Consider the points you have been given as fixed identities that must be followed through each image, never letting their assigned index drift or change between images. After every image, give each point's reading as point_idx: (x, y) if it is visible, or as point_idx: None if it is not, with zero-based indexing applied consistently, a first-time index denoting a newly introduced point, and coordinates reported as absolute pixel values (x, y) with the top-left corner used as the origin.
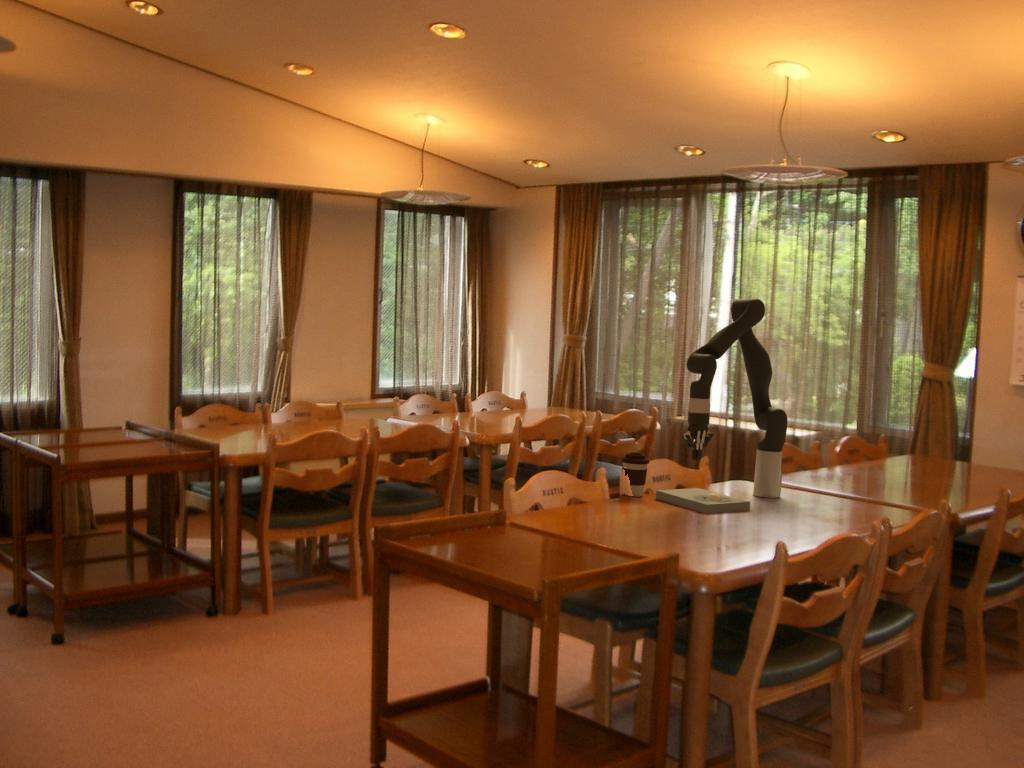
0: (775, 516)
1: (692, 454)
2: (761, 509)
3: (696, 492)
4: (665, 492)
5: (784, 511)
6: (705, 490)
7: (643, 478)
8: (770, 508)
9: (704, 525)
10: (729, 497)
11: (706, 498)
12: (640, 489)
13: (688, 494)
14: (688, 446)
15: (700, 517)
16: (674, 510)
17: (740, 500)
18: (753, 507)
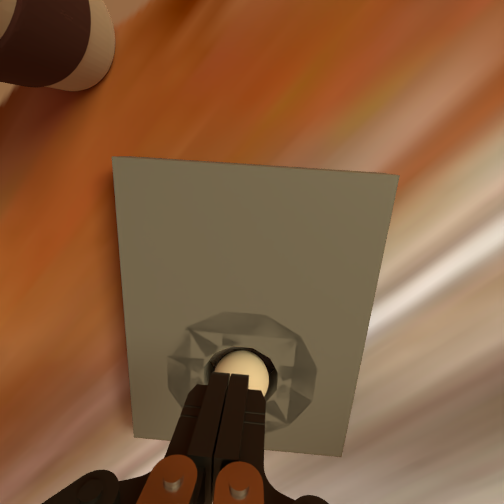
0: (335, 500)
1: (181, 413)
2: (393, 432)
3: (282, 261)
4: (125, 215)
5: (438, 472)
6: (374, 236)
7: (18, 79)
8: (442, 432)
9: (38, 495)
10: (335, 384)
11: (217, 369)
12: (53, 87)
13: (205, 285)
14: (76, 489)
15: (90, 438)
16: (69, 347)
17: (325, 432)
18: (398, 404)
